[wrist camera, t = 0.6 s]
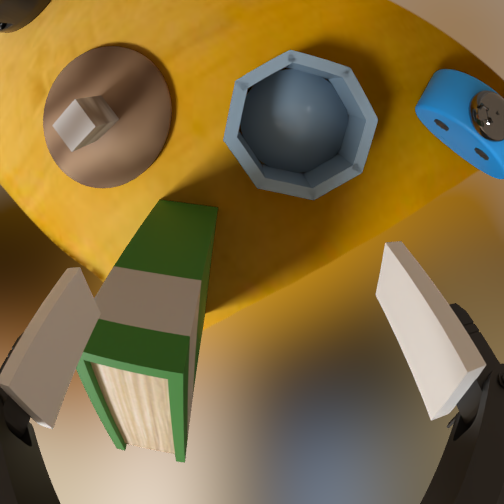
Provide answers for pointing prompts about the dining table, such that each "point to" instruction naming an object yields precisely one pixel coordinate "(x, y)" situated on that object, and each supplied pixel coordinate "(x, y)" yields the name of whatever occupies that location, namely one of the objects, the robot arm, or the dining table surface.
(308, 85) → the bowl
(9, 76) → the dining table surface
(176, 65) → the dining table surface
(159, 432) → the hardback book
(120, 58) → the lid
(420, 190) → the dining table surface
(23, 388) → the robot arm
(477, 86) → the alarm clock
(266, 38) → the dining table surface
